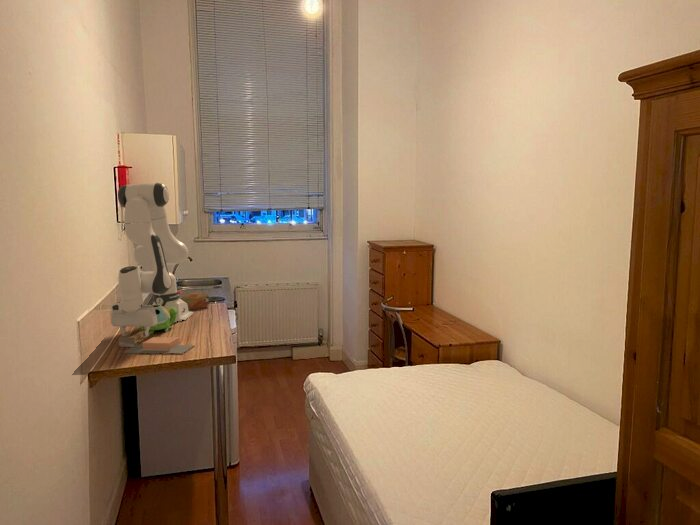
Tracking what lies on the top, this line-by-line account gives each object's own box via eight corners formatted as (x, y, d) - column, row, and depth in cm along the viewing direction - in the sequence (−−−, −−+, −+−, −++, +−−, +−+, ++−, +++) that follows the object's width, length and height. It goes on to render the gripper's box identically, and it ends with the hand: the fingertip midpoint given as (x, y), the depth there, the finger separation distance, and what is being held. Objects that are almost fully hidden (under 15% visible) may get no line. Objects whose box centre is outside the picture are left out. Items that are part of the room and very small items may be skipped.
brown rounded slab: (181, 310, 284) (180, 294, 283) (182, 308, 287) (180, 293, 286) (210, 307, 287) (209, 292, 286) (210, 306, 290) (209, 291, 289)
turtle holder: (185, 327, 247) (182, 303, 245) (147, 336, 235) (144, 310, 233) (173, 323, 256) (171, 299, 254) (136, 332, 244) (133, 307, 242)
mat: (137, 345, 221) (137, 344, 221) (194, 346, 216) (194, 345, 216) (123, 353, 211) (122, 352, 211) (182, 354, 206) (182, 353, 206)
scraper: (139, 336, 236) (138, 328, 235) (153, 336, 234) (152, 328, 234) (119, 347, 221) (118, 337, 221) (134, 347, 220) (133, 337, 219)
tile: (153, 337, 220) (142, 342, 213) (179, 337, 218) (169, 343, 210) (153, 344, 221) (143, 350, 213) (180, 344, 218) (170, 350, 211)
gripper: (158, 302, 226) (161, 334, 228) (115, 303, 230) (119, 333, 232) (150, 306, 220) (153, 338, 222) (106, 306, 224) (110, 337, 226)
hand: (135, 336), depth 227 cm, fingers open, 8 cm apart
